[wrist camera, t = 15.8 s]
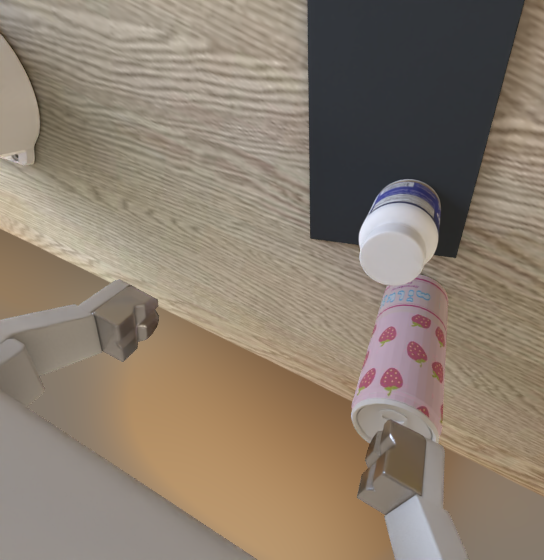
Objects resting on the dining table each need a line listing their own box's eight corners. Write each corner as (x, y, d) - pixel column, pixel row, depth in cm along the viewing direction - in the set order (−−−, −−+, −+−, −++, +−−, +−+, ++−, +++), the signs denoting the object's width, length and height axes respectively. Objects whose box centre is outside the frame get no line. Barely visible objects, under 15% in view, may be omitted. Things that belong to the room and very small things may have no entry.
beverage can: (434, 264, 30) (419, 397, 19) (457, 313, 31) (456, 463, 20) (374, 281, 33) (332, 401, 22) (398, 324, 35) (370, 457, 24)
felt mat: (311, 236, 34) (310, 238, 33) (308, -30, 22) (306, -31, 22) (455, 255, 29) (455, 258, 28) (544, -76, 17) (545, -78, 17)
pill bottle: (422, 246, 29) (411, 307, 22) (364, 224, 30) (338, 275, 23) (454, 190, 26) (453, 242, 19) (388, 167, 27) (366, 209, 20)
